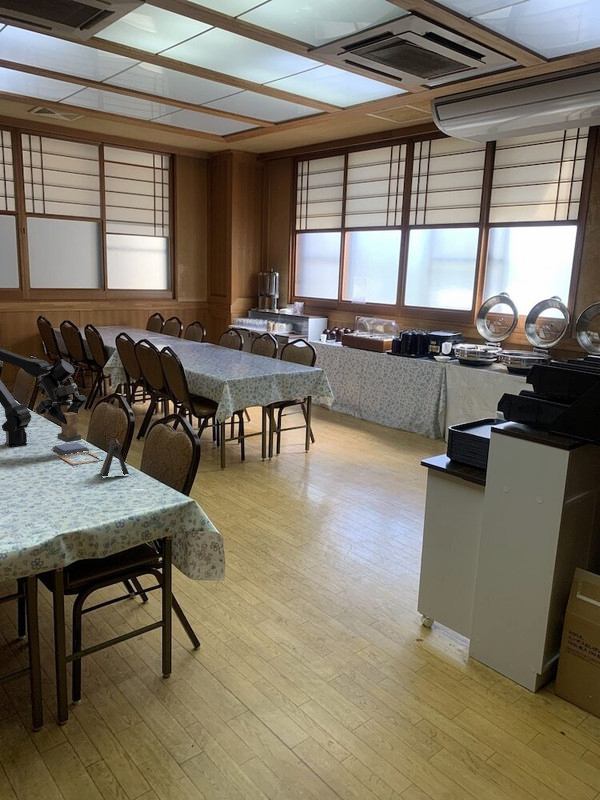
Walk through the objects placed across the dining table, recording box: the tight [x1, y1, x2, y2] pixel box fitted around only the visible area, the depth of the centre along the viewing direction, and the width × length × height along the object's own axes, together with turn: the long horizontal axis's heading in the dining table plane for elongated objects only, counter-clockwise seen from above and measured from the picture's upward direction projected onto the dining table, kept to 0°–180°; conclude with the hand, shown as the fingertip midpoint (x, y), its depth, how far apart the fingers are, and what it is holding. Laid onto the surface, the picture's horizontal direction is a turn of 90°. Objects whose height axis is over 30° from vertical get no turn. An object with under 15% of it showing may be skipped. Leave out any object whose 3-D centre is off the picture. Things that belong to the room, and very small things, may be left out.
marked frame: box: [58, 450, 98, 466], centre depth 224 cm, size 12×13×1 cm
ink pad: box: [52, 442, 90, 455], centre depth 234 cm, size 10×10×2 cm
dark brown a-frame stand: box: [100, 438, 130, 477], centre depth 207 cm, size 9×6×12 cm, turn 112°
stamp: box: [57, 411, 82, 443], centre depth 227 cm, size 6×6×10 cm
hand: (71, 423), depth 226 cm, fingers closed on stamp, 4 cm apart
